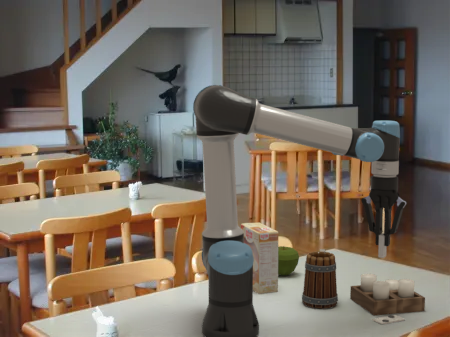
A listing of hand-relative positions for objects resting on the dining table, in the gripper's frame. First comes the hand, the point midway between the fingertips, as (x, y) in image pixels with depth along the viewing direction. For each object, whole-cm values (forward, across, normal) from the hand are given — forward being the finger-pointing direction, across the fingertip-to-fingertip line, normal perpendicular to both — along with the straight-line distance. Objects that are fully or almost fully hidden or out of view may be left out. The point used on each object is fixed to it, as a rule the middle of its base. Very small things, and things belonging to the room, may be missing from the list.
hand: (382, 256), depth 212 cm
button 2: (+13, 0, 0) cm, 13 cm away
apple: (+16, -40, +19) cm, 48 cm away
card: (+16, +5, -8) cm, 18 cm away
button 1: (+13, -6, +5) cm, 15 cm away
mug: (+16, -18, -1) cm, 24 cm away
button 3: (+15, 0, +11) cm, 19 cm away
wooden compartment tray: (+16, 0, +5) cm, 17 cm away
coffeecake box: (+16, -41, +3) cm, 44 cm away
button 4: (+13, +6, +5) cm, 15 cm away
